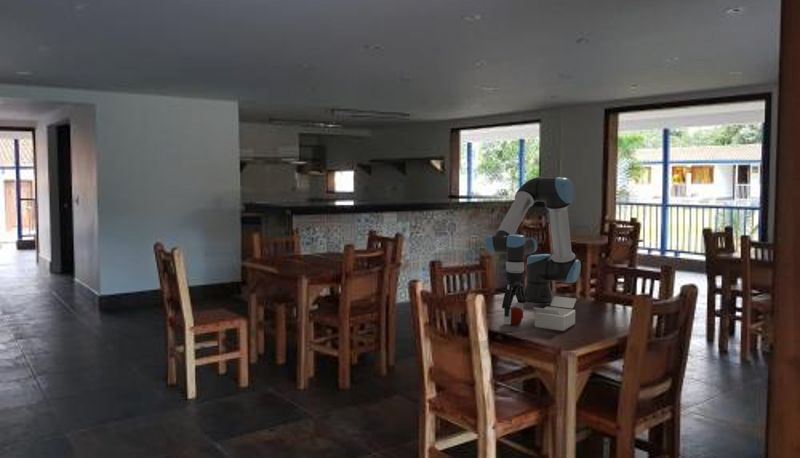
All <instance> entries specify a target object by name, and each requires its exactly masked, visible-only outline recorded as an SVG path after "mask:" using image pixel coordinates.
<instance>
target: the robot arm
mask: <svg viewBox="0 0 800 458" xmlns="http://www.w3.org/2000/svg"><path fill="white" fill-rule="evenodd" d="M574 194H575V191H574V186H573V183H572V181H571V180H570V179H569V178H567V177H561V176H556V177H555V176H554V177H549V176H548V177H547V176H545V177H544V176H536V177H533V178H531V179H529V180H527V181H526V182H524V183H523V184H522V185H521V186H520V187H519V188H518V189H517V191H516V193H515V194H514V201H513V203H512V204H511V206H510V208H509V209H508V211H507V213H506V215H505V216H504V218H503V219H502V222H501V223H500V225H499V227H498V229H497V231H496V232H495V234H494V235H493V234H492V235H491V234H490V235H488V236H487V237H486V238H485V248H486V250H487V252H489V253H495V254H497V253H498V254H506V261H505V263H504V264H505V267H506V268H505V269H506V272H505V280H506V281H507V282H508V284H507V283H506V284H505V290H504V296H503V299H502V304H501V308H502V309H503V311H504V312H503V324H504V325H510V324H511V309H510V307H512V304H513V300H514V297H515V298H516V300H517V301H516V307H517V308H520V309H521V310H522V311H523V312H524V304H526V302H531V303H551V302H552V300H553V298H554V295H553V292H552V289H551V286H550V285H551V281H552V282H557V283H558V282H560V283H565V284H568V283H569V284H573V283H576V282H577V281H578V279H579V277H580V274H581V269H582V264H581V263H582V262H581V261H580V260H579V259H576V257H577V256H576V254H575V253H574V252H573V250H572V241H571V231H570V222H569V212H568V207H569V206H570V205H571V203H572V202H573V201H574V198H575V197H574ZM536 202H543V203H544V207H545V208H546V209H547V210H548V214H549V222H550V223H549V224H550V231H551V242H552V249H553V254H552V255H551V254H550V253H540V254H539V253H537V254H534V253H536V252H537V250H538V247H539V246H538V242H537V240H536V239H535V238H534V237H529V236H528V237H527V236H526V237H525V235H523V234H516V232H517V231H518V228H519V227H520V225H521V223H522V221H523V219H524V217H525V216H526V214H527V212H528V210H529V208H531V207H533V206H534V204H535V203H536ZM525 256H528V257H527V258H526V259H527V260H526V264H525ZM525 266H526V279H525V273H524V271H525ZM524 279H525V280H526V281H525V283H526V284H525V287H524Z"/></svg>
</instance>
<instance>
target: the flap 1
mask: <svg viewBox="0 0 800 458" xmlns="http://www.w3.org/2000/svg"><path fill="white" fill-rule="evenodd" d="M532 308H533V310H534V311H535V312H537V313H544V314H552V315H559V316H561V314H560V313H559V312H558V311H557V310H551V309H543V307H535V306H534V307H532Z"/></svg>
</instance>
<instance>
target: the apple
mask: <svg viewBox="0 0 800 458" xmlns="http://www.w3.org/2000/svg"><path fill="white" fill-rule="evenodd" d="M510 309H511V324H509V325H511V326H518V325H519V324H521V322H522V320H523V318H524V310H523V311H522V310H521V309H520V308H517V306H511V307H510Z"/></svg>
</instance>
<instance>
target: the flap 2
mask: <svg viewBox="0 0 800 458" xmlns="http://www.w3.org/2000/svg"><path fill="white" fill-rule="evenodd" d="M576 302H577V298H572V297H567V296H566V297H564V296H558V295H557V296H555V295H553V300H552V301H551V302H550V305H549V307H555V308H563V309H571V310H574V307H575V304H576Z"/></svg>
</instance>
